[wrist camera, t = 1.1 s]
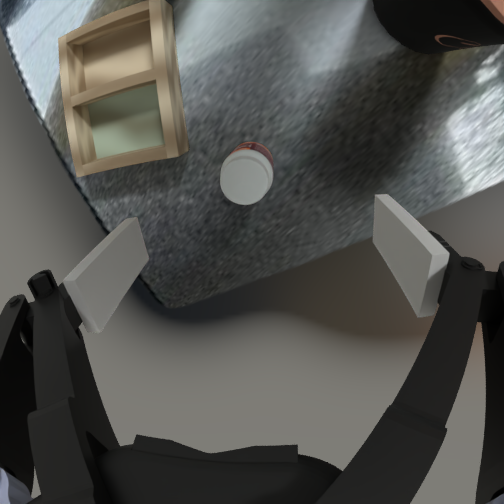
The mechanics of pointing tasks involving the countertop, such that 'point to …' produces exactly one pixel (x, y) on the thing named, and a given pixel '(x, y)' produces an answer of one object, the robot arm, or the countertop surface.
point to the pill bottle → (247, 173)
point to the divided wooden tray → (123, 89)
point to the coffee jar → (442, 23)
